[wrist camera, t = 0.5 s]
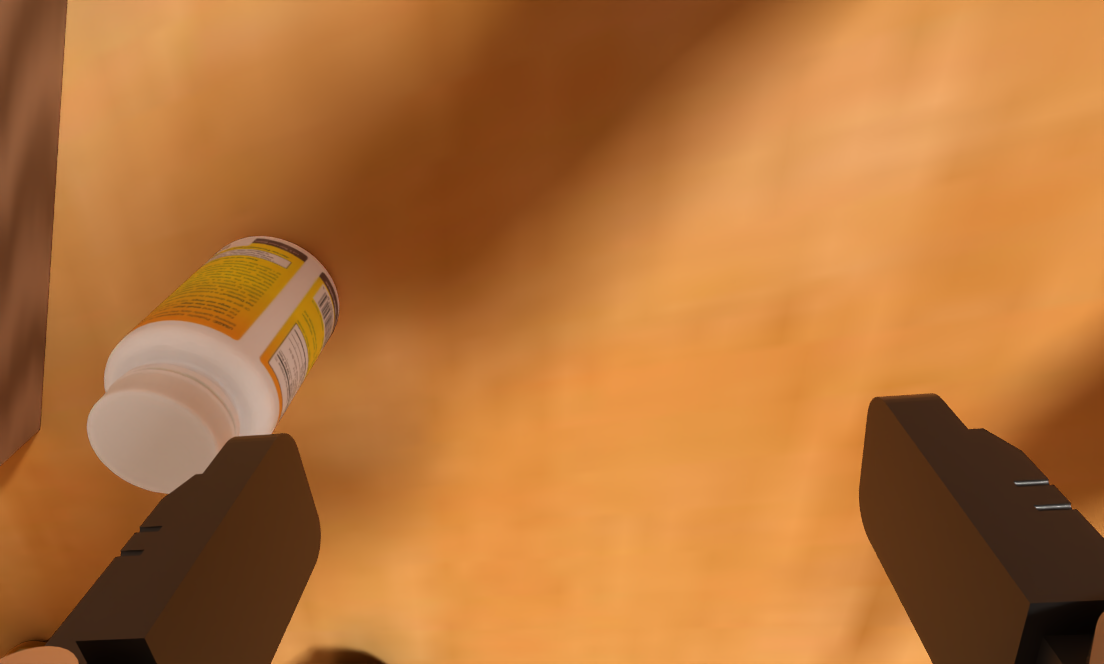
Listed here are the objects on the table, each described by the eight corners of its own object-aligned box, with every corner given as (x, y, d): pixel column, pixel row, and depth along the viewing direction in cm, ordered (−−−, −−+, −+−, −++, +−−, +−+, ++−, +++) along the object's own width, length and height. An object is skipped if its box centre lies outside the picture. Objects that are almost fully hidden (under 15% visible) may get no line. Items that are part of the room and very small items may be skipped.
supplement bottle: (184, 272, 30) (16, 419, 21) (281, 206, 29) (143, 334, 20) (275, 369, 32) (158, 538, 24) (371, 312, 31) (283, 471, 22)
